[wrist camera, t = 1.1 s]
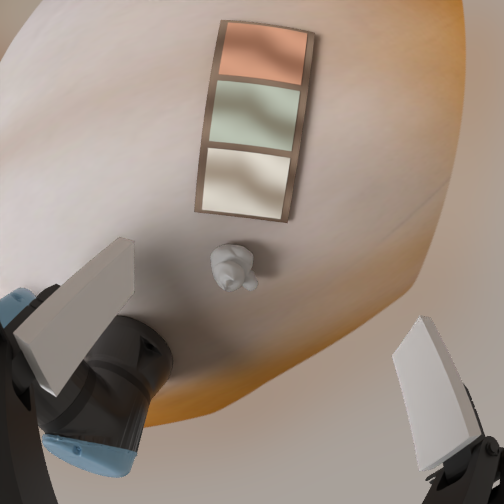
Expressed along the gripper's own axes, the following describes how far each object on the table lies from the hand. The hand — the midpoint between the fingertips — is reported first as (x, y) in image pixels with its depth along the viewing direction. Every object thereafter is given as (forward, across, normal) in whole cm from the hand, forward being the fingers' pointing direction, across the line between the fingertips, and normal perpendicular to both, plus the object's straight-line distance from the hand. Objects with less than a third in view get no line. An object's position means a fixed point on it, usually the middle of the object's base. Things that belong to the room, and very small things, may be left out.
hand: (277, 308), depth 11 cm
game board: (+23, +6, -7) cm, 25 cm away
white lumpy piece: (+22, +4, +11) cm, 24 cm away
